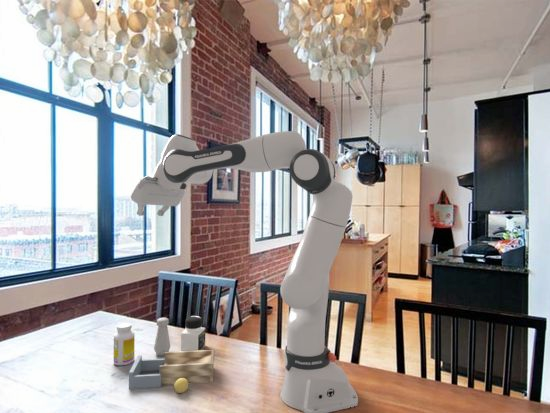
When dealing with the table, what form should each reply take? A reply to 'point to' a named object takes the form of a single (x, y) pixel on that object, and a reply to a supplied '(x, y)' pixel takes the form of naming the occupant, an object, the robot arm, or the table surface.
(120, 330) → the supplement bottle
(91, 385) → the table surface
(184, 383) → the ball
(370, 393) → the table surface
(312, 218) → the robot arm
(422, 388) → the table surface
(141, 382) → the light blue open bin
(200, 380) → the tan wooden tray
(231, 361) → the table surface
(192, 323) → the medicine bottle
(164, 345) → the salt shaker
